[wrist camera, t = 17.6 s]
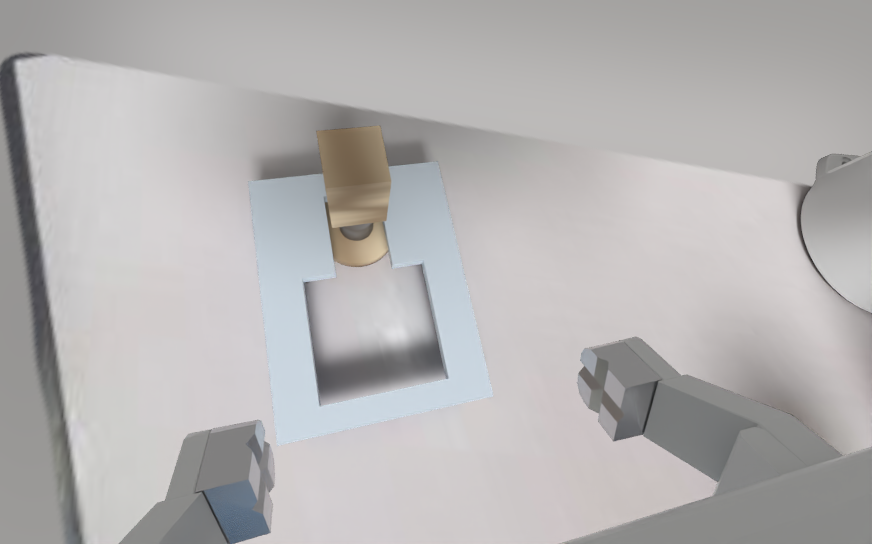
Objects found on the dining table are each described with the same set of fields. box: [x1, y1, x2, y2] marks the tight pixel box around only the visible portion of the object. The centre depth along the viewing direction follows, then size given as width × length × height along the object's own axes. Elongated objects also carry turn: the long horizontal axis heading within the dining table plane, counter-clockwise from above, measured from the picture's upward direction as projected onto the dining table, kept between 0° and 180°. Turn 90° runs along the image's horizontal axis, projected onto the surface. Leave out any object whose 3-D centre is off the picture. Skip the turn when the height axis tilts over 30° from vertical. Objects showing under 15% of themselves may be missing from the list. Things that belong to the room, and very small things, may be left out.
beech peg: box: [316, 126, 391, 267], centre depth 30 cm, size 6×6×11 cm
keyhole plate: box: [248, 161, 493, 446], centre depth 32 cm, size 14×18×3 cm
